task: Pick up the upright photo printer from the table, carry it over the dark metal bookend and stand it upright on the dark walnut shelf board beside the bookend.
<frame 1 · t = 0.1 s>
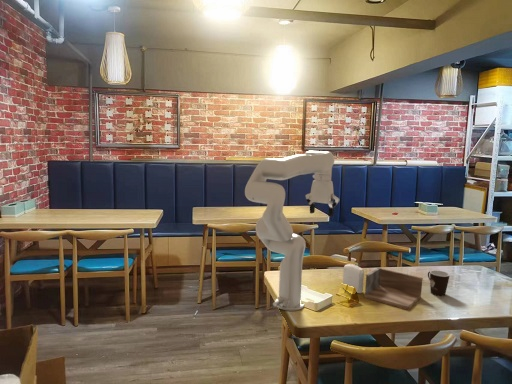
hand: (321, 214, 188), 37 cm above the table, tool pointing down, fingers open, 9 cm apart
shelf: (392, 297, 185), on the table
photo printer: (352, 290, 193), on the table
coffee mug: (437, 292, 193), on the table
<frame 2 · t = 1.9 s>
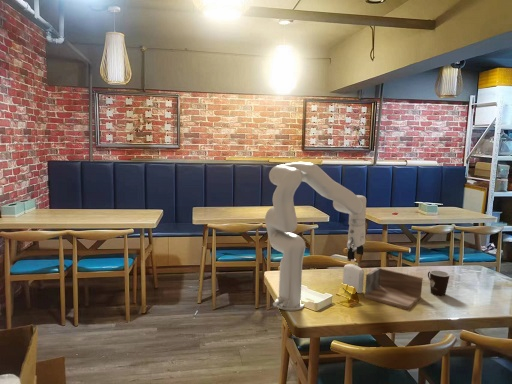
hand: (355, 256, 191), 17 cm above the table, tool pointing down, fingers open, 9 cm apart
nothing on the table moved.
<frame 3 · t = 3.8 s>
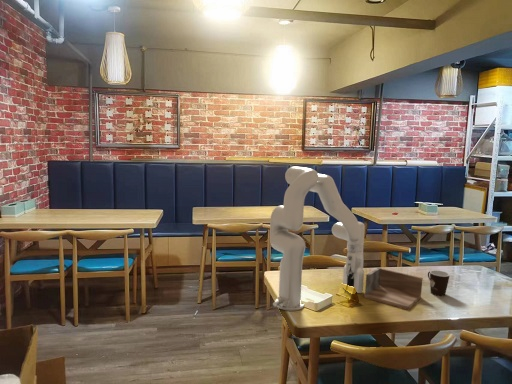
hand: (352, 284, 193), 3 cm above the table, tool pointing down, fingers closed on photo printer, 5 cm apart
photo printer: (352, 290, 193), on the table, touching gripper
everything else where it was.
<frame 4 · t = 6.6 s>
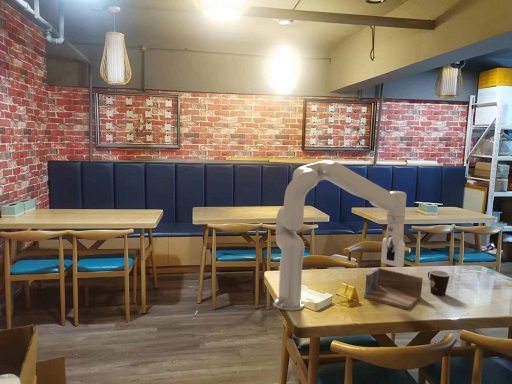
hand: (392, 258, 180), 19 cm above the table, tool pointing down, fingers closed on photo printer, 5 cm apart
photo printer: (392, 265, 181), point 16 cm above the table, touching gripper
everything else where it was.
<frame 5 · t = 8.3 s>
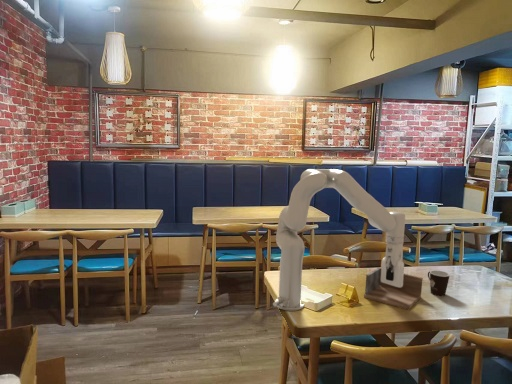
hand: (391, 278, 181), 10 cm above the table, tool pointing down, fingers closed on photo printer, 4 cm apart
photo printer: (391, 284, 182), point 7 cm above the table, touching gripper
everything else where it was.
when the fingers open (6 cm above the table, at t = 9.5 s): photo printer drops 1 cm, resting on shelf.
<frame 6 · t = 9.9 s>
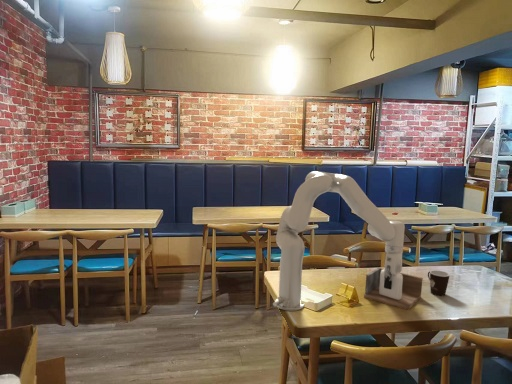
hand: (391, 285, 182), 7 cm above the table, tool pointing down, fingers open, 8 cm apart
photo printer: (389, 296, 183), point 1 cm above the table, touching shelf
everything else where it was.
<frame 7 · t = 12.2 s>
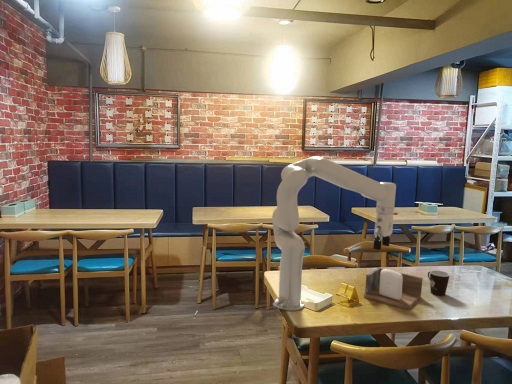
hand: (381, 247, 181), 24 cm above the table, tool pointing down, fingers open, 9 cm apart
nothing on the table moved.
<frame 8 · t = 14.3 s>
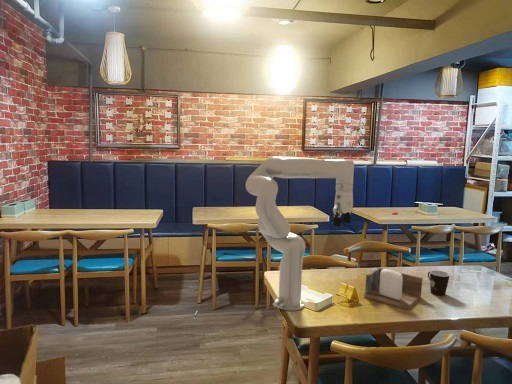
hand: (342, 224, 183), 33 cm above the table, tool pointing down, fingers open, 9 cm apart
nothing on the table moved.
at the end: photo printer inside the target area on the shelf (1.7 cm from its centre), point 1.3 cm above the shelf's base; photo printer tilted 0°; the gripper is holding nothing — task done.
